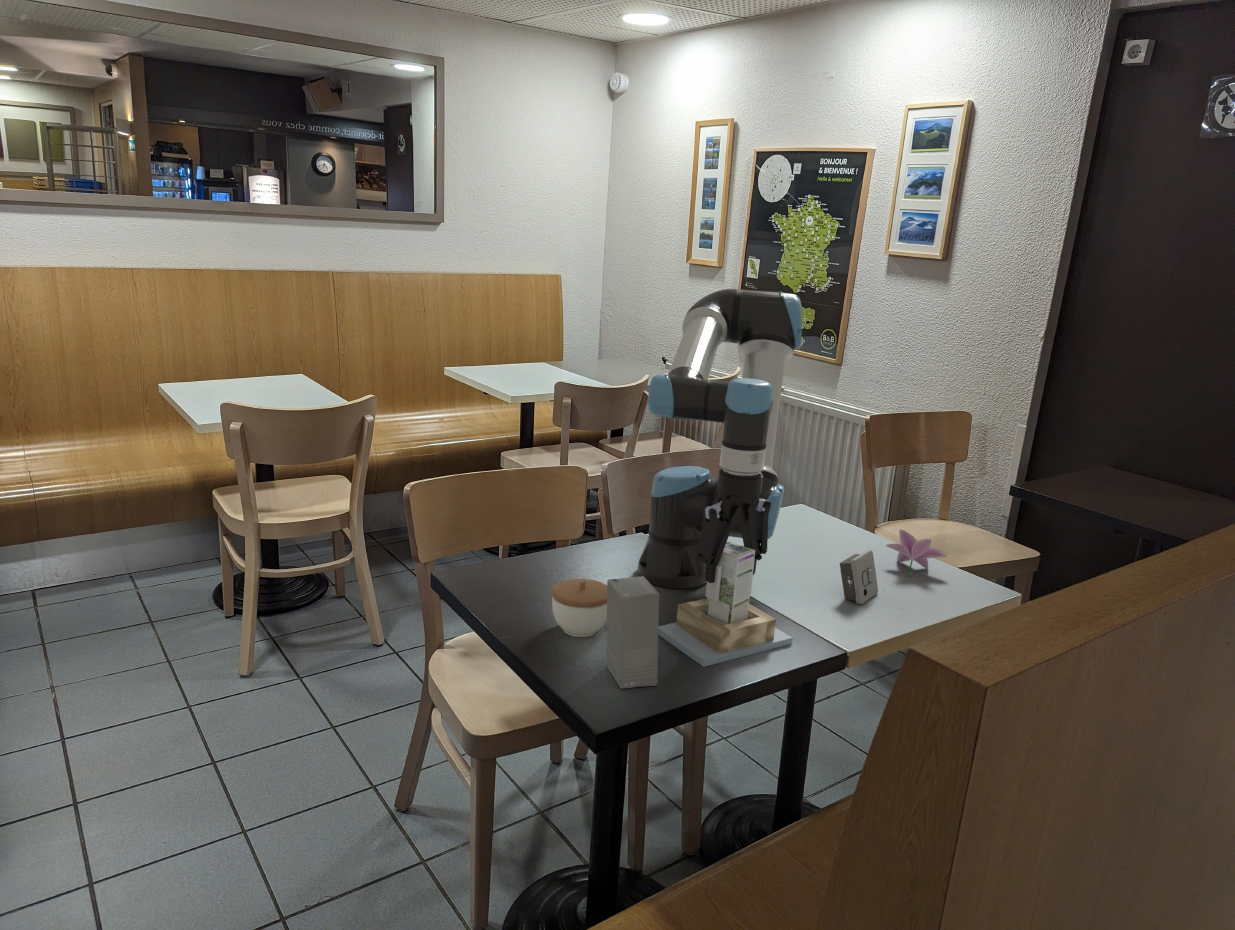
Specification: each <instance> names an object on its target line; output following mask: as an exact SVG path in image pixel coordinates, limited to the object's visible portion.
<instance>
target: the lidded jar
mask: <svg viewBox="0 0 1235 930" xmlns="http://www.w3.org/2000/svg"><path fill="white" fill-rule="evenodd" d="M551 596H552V599H551V600H552V601H551V603H552V606H551V607H552V613H553V616H554V620H555V622H556V623H557V625H558V626H559V627H560V628H561V629H562V631H563V632H564V633H565V634H567V635H568V636H570V637H575V638H587V637H588V638H589V637H592V636H593V635H595V634H597V632H598V631H599V630H600V629H601V628H602V627H604V625H605V624H606V623H607V583H603V582H602V581H599V580H595V579H590V578H570V579H569V578H568V579H563V580H561V581H559V582H556V584H554V585H553V586H552V588H551Z"/></svg>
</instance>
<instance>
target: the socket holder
mask: <svg viewBox="0 0 1235 930" xmlns="http://www.w3.org/2000/svg"><path fill="white" fill-rule="evenodd" d="M706 603H707V597H706V598H703V599H698V600H693V601H687V602H683V603H678V604H677V611H676V622H673V623H672V622H671V623H667V624H663V625H658V636H660V637H661V638H662V639H664V640H666V641H667V642H668V643H670V644H671V645H673V646H674V647H675V648H676V649H678V650H679V651H680V652H682V653H683V654H685V655H686V656H687V657H689V658H690V659H692V660H693V661H695V662H696V663H697V664H699V665H700V666H701V667H703V668H705V667H708V666H712V665H717V664H720V663H723V662H728V661H732V660H736V659H738V658H742V657H743V658H744V657H746V656H751V655H755V654H758V653H762V652H763V653H764V652H766V651H769V650H773V649H776V648H777V649H778V648H781V647H784V646H789V645H792V643H793V637H792V636H790V635H788V634H787V633H785V632H783V631H782V630H780V629H779V628H777V627H776V625H777V624H776V623H777V619H776V618H775V617H773V616H771V615H770V614H768V613H766V612H764V611H762V610H761V609H759V608H757V607H756V606H754V605H753V604H751V603H749V608H748V619H747V620H744V621H740V622H736V623H731V624H727V625H722V624H720V623H718V622H717V621H715V620H714V619H712V618H710V617H709V616H707V615H706Z"/></svg>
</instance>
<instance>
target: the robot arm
mask: <svg viewBox="0 0 1235 930" xmlns="http://www.w3.org/2000/svg"><path fill="white" fill-rule="evenodd" d="M801 302H802V301H801V298H800V297H799V295H797V294H794V293H789V292H788V293H786V292H782V291H766V290H765V291H762V290H752V289H751V290H749V289H748V290H747V289H737V288H725V289H720V290H717V291H714V292H712V293H709V294H707V295H705V296H703V297H701V298H700V299H699V300H698V301H696V302H695V303H694V304H693V305H692V306H691V307H690V308H689V309H688V310H687V312H686V314H685V316H684V319H683V320H682V321H683V322H682V326H681V327H682V328H681V329H682V337H681V340H680V342H679V344H678V348H677V350H676V353H675V355H674V358H673V360H672V363H671V364H670V368H669V371H668V373H667V374H666V373H665V374H656V375H654V376H653V377H652V378H651V381H650V383H649V388H648V389H649V390H648V395H647V396H648V399H647V400H648V403H647V405H648V406H647V407H648V411H649V413H651V414H652V415H654V416H660V417H663V418H664V417H665V418H667V419H672V418H673V419H681V420H682V419H683V420H694V421H703V422H704V421H705V422H709V423H721V424H723V432H722V433H723V434H722V440H721V441H722V442H721V448H720V456H719V457H720V458H719V466H720V469H719V470H718V476H717V477H718V478H717V477H712V474H711V471H710V470H709V469H708V468H705V467H701V466H694V465H693V466H692V465H683V466H673V467H668V468H665V469H663V470H659V472H657V473H656V474H655V476H654V478H653V481H652V489H651V492H650V496H651V497H650V498H651V501H650V512H649V513H650V514H649V525H648V526H649V527H648V537H647V541H646V542H645V546H644V548H643V550H642V553H641V555H640V557H639V559H638V562H637V563H638V564H637V575H638V577H641V576H644V577H645V578H646V580H647V581H648V582H649V583H650V584H651V585H654V586H657V587H662V588H667V589H683V590H685V589H694V588H697V587H698V588H699V587H701V586H704V585H705V584H706V588H705V597H706V598H707V597H708V598H710V599H711V600H713V601H715V602H716V601H718V600H719V591H720V581H721V571H722V566H721V565H719V561H720V558H721V556H722V553H723V550H724V548H725V545H726V542H728V539H729V537H730V538H736V539H737V538H740V539H742V542H743V546H744V547H747V548H750V549H753V550H755V558H754V567H753V574H752V579H753V578H754V575H755V574H756V571H757V563H758V562H757V561H761V560H762V558H763V556H762V555H765V554H767V552H768V543H769V541H768V540H769V539H771V538H772V537H773V534H774V532H775V528H776V526H777V522H778V517H779V514H780V510H781V506H782V501H783V498H784V493H785V487H784V485H782V484H779V475H778V474H777V472H776V471H775V470H774V468H773V465H774V455H775V447H776V441H777V440H776V439H777V433H778V432H777V430H778V423H779V414H780V406H781V405H780V404H781V399H782V390H783V383H784V382H783V381H784V374H785V373H784V372H785V367H786V366H785V365H786V362H788V361H789V360H791V359H792V357H793V356H794V351H796V350H799V349H801V347H802V342H803V341H802V335H803V334H802V333H803V332H802V329H803V328H802V327H803V317H802V315H803V312H802V311H803V310H802V303H801ZM722 343H729V344H730V343H731V344H739V346H738V352H739V353H740V354H741V356H743V358H744V362H743V368H742V377H741V378H739V377H738V378H733V379H731V380H730V381H729V380H728V381H726V380H717V379H709V378H710V374H711V371H712V367H713V364H714V360H715V357H716V355H717V351H718V347H719V346H720V345H721V344H722ZM712 557H713V558H712ZM752 585H753V581H752V582H751V588H752ZM751 594H752V589H751V590H750V595H751Z"/></svg>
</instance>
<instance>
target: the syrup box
mask: <svg viewBox="0 0 1235 930" xmlns="http://www.w3.org/2000/svg"><path fill="white" fill-rule="evenodd" d="M712 558H713V557H712ZM754 558H755V550H753V549H750V548H747V547H744V545H741V544H738V543H735V542H732V541H727V542H726V545H725V548H724V550H723V553H722V556H721V558H720V561H719V565H721V566H722V571H721V581H720V591H719V600H718V601H716V602H715V601H713V600H711V599H710V598H708V597H706V598H707V603H706V615H707V616H709V617H710V618H712V619H714V620H715V621H717V622H718V623H720V624H722V625H727V624H731V623H736V622H740V621H744V620H747V619H748V608H749V604H750V599H751V594H750V590H751V591H752V587H751V582H752V583H753V578H752V574H753V567H754Z"/></svg>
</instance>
